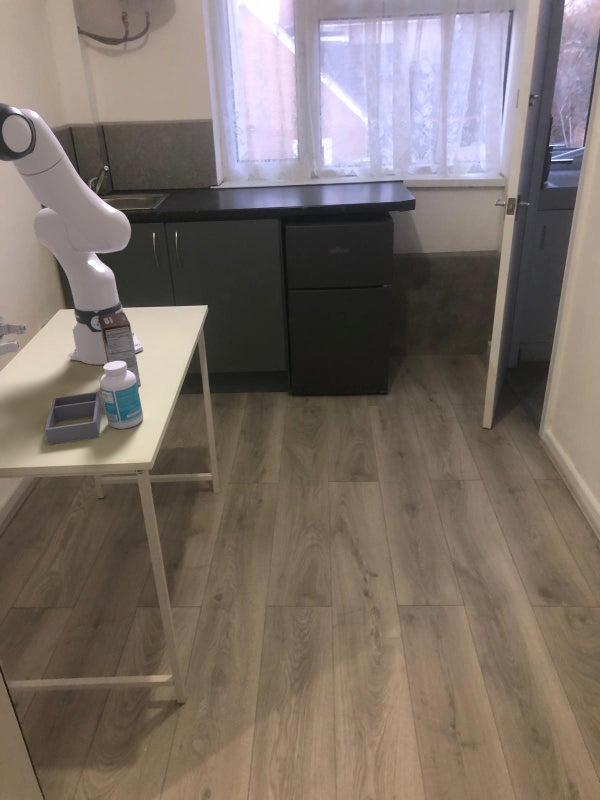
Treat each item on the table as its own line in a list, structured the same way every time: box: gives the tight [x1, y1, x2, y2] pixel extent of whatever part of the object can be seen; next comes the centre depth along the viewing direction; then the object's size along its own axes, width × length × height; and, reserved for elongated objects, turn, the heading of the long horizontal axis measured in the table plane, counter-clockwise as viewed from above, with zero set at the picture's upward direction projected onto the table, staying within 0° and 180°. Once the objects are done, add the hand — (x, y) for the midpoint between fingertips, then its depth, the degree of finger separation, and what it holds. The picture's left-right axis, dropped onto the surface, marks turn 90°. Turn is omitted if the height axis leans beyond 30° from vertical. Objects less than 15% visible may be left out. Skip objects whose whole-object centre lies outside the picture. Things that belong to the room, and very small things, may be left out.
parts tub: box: [44, 391, 103, 445], centre depth 139 cm, size 15×10×4 cm, turn 13°
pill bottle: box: [99, 361, 144, 430], centre depth 137 cm, size 8×7×14 cm
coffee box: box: [98, 311, 142, 387], centre depth 155 cm, size 9×6×16 cm
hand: (21, 336), depth 127 cm, fingers open, 8 cm apart
